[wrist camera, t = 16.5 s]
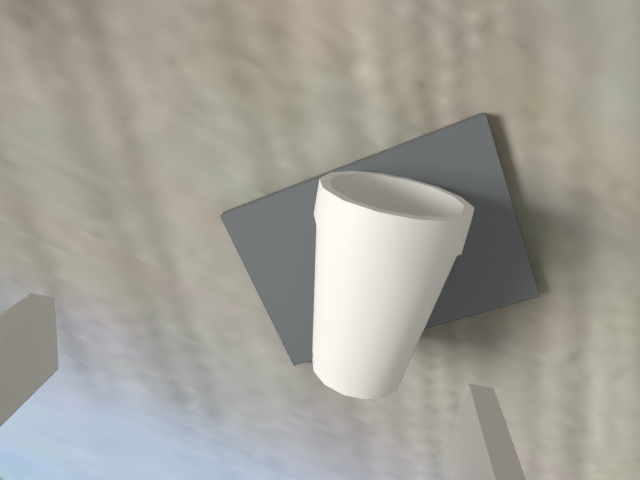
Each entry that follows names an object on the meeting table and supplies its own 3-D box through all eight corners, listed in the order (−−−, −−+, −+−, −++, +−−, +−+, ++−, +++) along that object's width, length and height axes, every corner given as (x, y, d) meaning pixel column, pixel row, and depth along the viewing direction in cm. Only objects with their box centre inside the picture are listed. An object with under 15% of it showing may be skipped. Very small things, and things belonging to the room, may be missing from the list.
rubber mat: (295, 358, 41) (293, 365, 40) (224, 211, 37) (220, 215, 36) (535, 290, 36) (539, 296, 35) (482, 112, 32) (485, 113, 31)
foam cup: (262, 367, 32) (288, 182, 27) (333, 317, 40) (363, 165, 35) (389, 440, 28) (446, 234, 23) (441, 368, 35) (492, 202, 30)
